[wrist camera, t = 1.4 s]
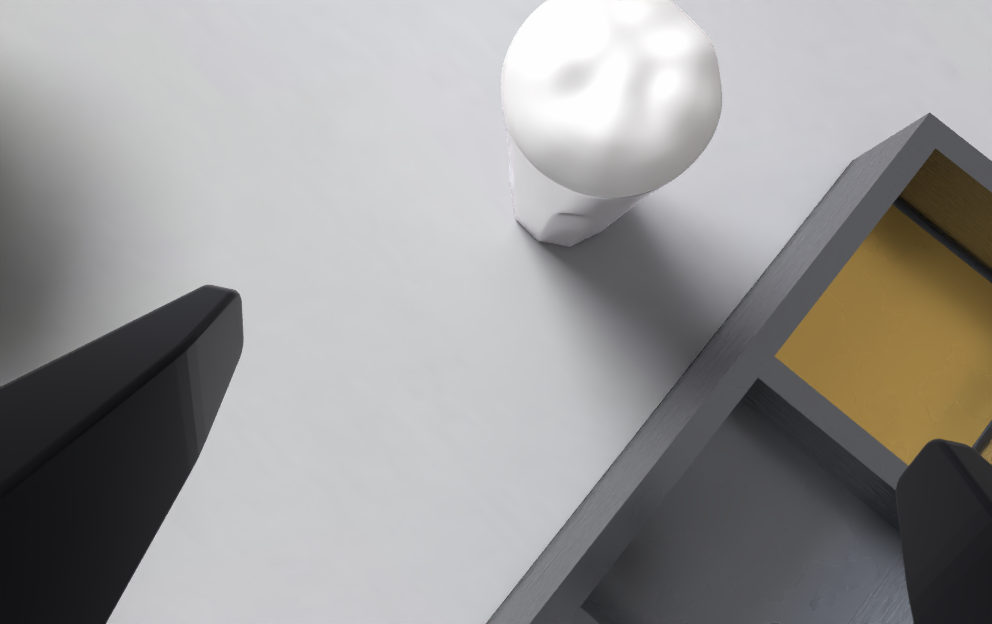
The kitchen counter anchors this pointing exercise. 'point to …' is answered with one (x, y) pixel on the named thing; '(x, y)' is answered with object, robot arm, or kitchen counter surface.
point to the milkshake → (603, 110)
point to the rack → (800, 417)
